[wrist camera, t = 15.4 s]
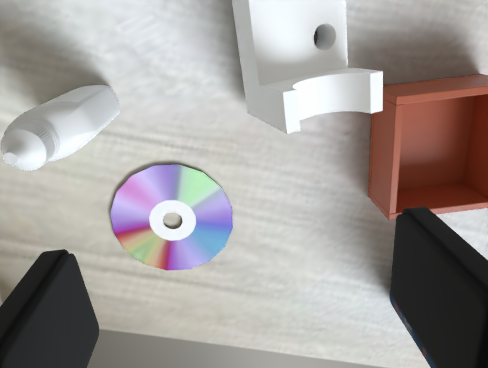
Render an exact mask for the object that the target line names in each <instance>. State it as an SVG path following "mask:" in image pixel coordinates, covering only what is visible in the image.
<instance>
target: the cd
mask: <svg viewBox="0 0 488 368" xmlns="http://www.w3.org/2000/svg"><path fill="white" fill-rule="evenodd" d="M170 212H174V213H178V214H179V215H180V216H181V217H182V221H183V222H182V225H181V226H180V227H179V228H176V229H171V228H168V227H166V226H165V224H164V223H163V218H164V216H165V215H166V214H167V213H170ZM110 214H111V219H112V224H113V230H114V234H115V236H116V237H117V239H118V240H119V242H120V243H121V244H122V246H123V247H124V249H125V250H126V252H127V253H129V254H130V255H132V256H133V257H135V258H136V259H138V260H139V261H141V262H142V263H144V264H145V265H149V266H153V267H156V268H160V269H164V270H182V269H191V268H193V267H196V266H198V265H201V264H203V263H205V262H208V261H210V260H211V259H212V258H213V257H214V256H215V255H216V254H217V253H218V252H219V251H220V250H222V249H223V248H224V247H225V244H226V242H227V240H228V237H229V235H230V233H231V230H232V228H233V227H232V207H231V205H230V203H229V201H228V199H227V197H226V195H225V193H224V191H223V189H222V187H220V186H219V185H218V184H217V183H216V182H214V181H213V180H212V179H211V178H209V177H208V176H207V175H206V174H205V173H203V172H201V171H198V170H195V169H192V168H189V167H186V166H183V165H180V164H177V165H154V166H152V167H149V168H147V169H145V170H143V171H141V172H138V173H136V174H134V175H132V176H131V177H130V178H129V179H128V180H127V181H126V182H125V183H124V185H123V186H122V187H121V188H120V189H119V190H118V191H117V192H116V195H115V199H114V203H113V206H112V210H111V213H110Z"/></svg>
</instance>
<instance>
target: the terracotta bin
mask: <svg viewBox="0 0 488 368" xmlns="http://www.w3.org/2000/svg"><path fill="white" fill-rule="evenodd" d="M368 197H369V198H370V199H371V200H372V201H373V203H374V204H375V205H376V206H377V207H378V208H379V209H380V211H381V212H382V213H383V214H384V215H385V216H386V218H387V219H388V220H394V219H396V217H397V215H398V214H402V211H403V209H405V208H413V207H422V206H425V207H427V208H428V209H429V210H430V211H432V212H433V213H434V214H442V213H450V212H458V211H466V210H474V209H482V208H488V75H483V74H476V75H468V76H459V77H451V78H442V79H434V80H425V81H417V82H408V83H400V84H391V85H383V111H379V112H375V113H371V134H370V161H369V188H368Z"/></svg>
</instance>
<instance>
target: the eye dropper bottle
mask: <svg viewBox="0 0 488 368" xmlns="http://www.w3.org/2000/svg"><path fill="white" fill-rule="evenodd" d="M120 110H121V106H120V103H119V101H118V99H117V97H116V95H115V93H114V92H113V90H112V89H111V88H110V87H109V86H106V85H89V86H84V87H80V88H76V89H74V90H71V91H69V92H67V93H65V94H63V95H60V96H58V97H56V98H54V99H52V100H50V101H47V102H45V103H43V104H41V105H39V106H37V107H35V108H33V109H31V110H29V111H27V112H25V113H23V114H22V115H20V116H19V117H18V118H16V119H15V120H14V121H13V122H12V123H11V124H10V125H9V126H8V128H7V129H6V131H5V132H4V136H3V139H2V141H1V151H2V153H3V155H4V156H3V159H4V161H5V163H7V164H8V165H13V166H14V167H16V168H18V169H22V170H28V171H29V170H30V171H31V170H36V169H38V168H40V167H42V166H43V165H44V164H45V163H46V162H51V161H55V160H59V159H61V158H64V157H66V156H69V155H71V154H72V153H74V152H76V151H77V150H79V149H80V148H82V147H83V146H84V145H85V144H87V143H88V142H89V141H90V140H91V139H92V138H93V137H95V136H96V135H97V134H98V133H99V132H100V131H101V130H102V129H103V128H104V127H106V126H107V125H108V124H109V123H110V122H111V121H112V120H113V119H114V118H115V117H116V116H117V115H118V114H119V113H120Z"/></svg>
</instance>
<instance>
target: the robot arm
mask: <svg viewBox="0 0 488 368" xmlns="http://www.w3.org/2000/svg"><path fill="white" fill-rule="evenodd" d="M391 294H392V297H393V300H394V302H395V303H396V305H397V306H398V308H399V309H400V311H401V313H402V314H403V316H404V317H405V319H406V320H407V322H408V324H409V325H410V327H411V328H412V330H413V331H414V333H415V335H416V336H417V338H418V339H419V341H420V342H421V344H422V345H423V347H424V349H425V350H426V352H427V353H428V355H429V356H430V358H431V360H432V361H433V363H434V364H435V366H436V367H437V368H488V260H487V259H485V258H484V257H483V256H482V255H481V254H480V253H479V252H477V251H476V250H475V249H474V248H473V247H472V246H471V245H469V244H468V243H467V242H466V241H465V240H464V239H463V238H461V237H460V236H459V235H458V234H457V233H456V232H454V231H453V230H452V229H451V228H450V227H449V226H448V225H446V224H445V223H444V222H443V221H442V220H441V219H440V218H438V217H437V216H436V215H435V214H434V213H433V212H432V211H430V210H429V209H428V208H427V207H425V206H422V207H413V208H405V209H403V211H402V214H398V215H397V217H396V226H395V239H394V252H393V265H392V278H391ZM98 336H99V325H98V322H97V319H96V316H95V313H94V310H93V307H92V304H91V301H90V298H89V295H88V292H87V289H86V287H85V284H84V281H83V278H82V275H81V272H80V269H79V266H78V263H77V260H76V257H75V256H74V254H69V253H68V251H67V250H65V249H63V250H55V251H46V252H43V253H42V254H41V255H40V256H39V257H38V259H37V260H36V261H35V262H34V264H33V265H32V266H31V268H30V269H29V270H28V272H27V273H26V274H25V275H24V277H23V278H22V279H21V281H20V282H19V283H18V285H17V286H16V287H15V288H14V290H13V291H12V292H11V294H10V295H9V296H8V298H7V299H6V300H5V302H4V303H3V304H2V305H1V307H0V368H87V365H88V363H89V360H90V357H91V355H92V352H93V350H94V347H95V344H96V341H97V339H98Z"/></svg>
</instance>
